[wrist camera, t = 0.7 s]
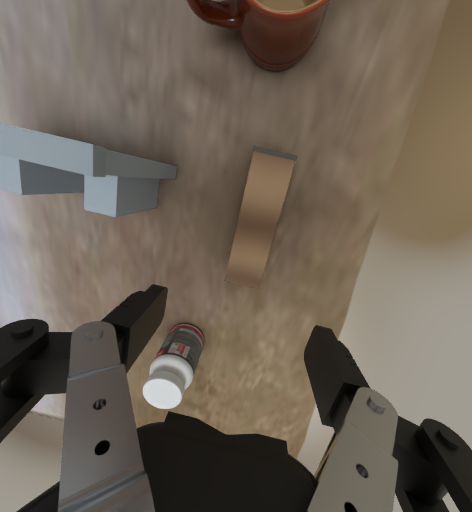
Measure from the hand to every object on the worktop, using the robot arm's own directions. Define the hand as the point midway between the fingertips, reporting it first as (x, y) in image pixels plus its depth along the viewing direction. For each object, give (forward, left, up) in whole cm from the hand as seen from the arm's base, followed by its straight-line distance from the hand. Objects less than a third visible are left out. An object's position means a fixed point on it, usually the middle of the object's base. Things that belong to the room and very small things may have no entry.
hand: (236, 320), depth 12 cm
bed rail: (-3, 0, -19) cm, 19 cm away
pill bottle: (+18, -6, -19) cm, 27 cm away
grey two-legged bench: (-4, -19, -18) cm, 27 cm away
